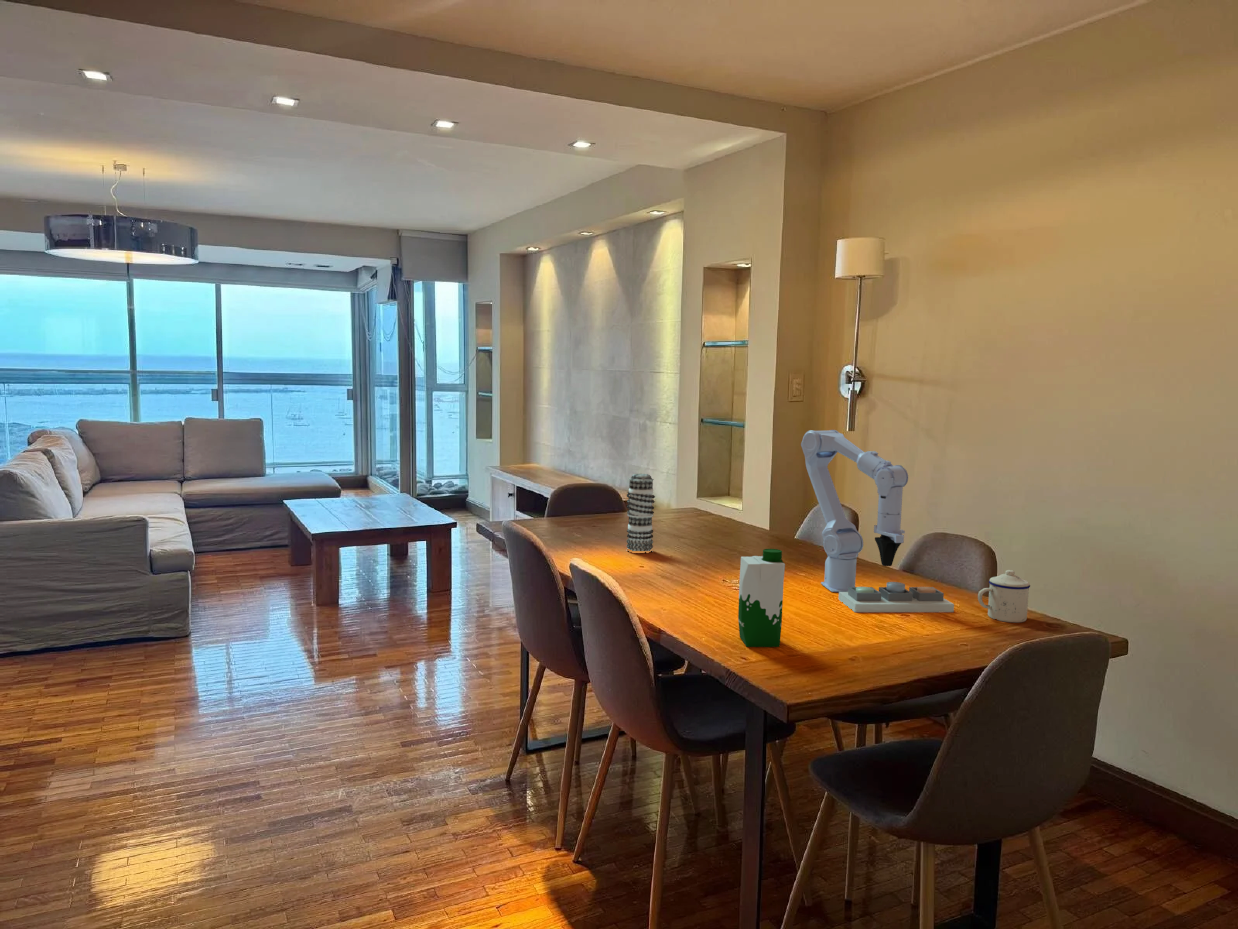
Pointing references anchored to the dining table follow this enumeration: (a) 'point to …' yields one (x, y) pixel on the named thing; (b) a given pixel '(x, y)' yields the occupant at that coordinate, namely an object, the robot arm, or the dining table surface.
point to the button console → (895, 601)
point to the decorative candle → (640, 512)
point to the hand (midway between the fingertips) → (886, 565)
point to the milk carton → (761, 599)
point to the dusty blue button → (895, 587)
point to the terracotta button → (926, 590)
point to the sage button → (864, 590)
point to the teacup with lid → (1007, 597)
